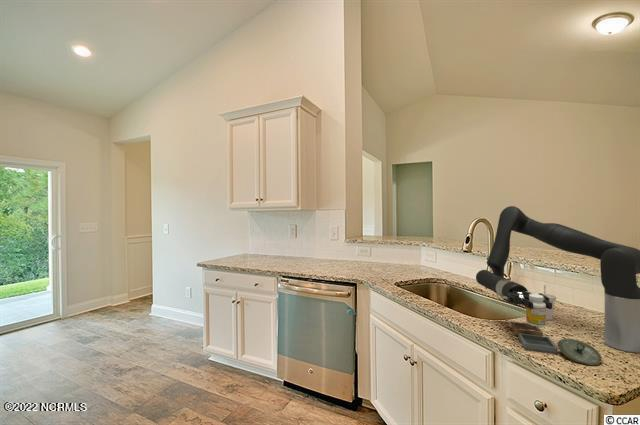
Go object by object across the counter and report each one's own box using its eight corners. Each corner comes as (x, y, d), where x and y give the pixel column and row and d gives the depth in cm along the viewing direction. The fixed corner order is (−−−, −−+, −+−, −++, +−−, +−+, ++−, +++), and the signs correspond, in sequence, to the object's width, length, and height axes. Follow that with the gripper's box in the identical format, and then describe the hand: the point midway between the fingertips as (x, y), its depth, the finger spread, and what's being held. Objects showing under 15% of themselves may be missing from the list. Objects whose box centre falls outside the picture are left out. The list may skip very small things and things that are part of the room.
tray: (548, 342, 103) (548, 337, 103) (557, 354, 95) (557, 348, 95) (518, 338, 106) (518, 333, 106) (524, 349, 98) (524, 343, 98)
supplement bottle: (527, 319, 105) (527, 292, 104) (546, 323, 101) (546, 295, 101) (525, 324, 100) (525, 296, 100) (545, 328, 97) (545, 299, 97)
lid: (585, 351, 97) (585, 336, 97) (611, 367, 87) (611, 350, 87) (550, 349, 98) (550, 334, 98) (571, 365, 88) (571, 348, 88)
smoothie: (538, 314, 130) (538, 282, 130) (557, 318, 125) (557, 285, 125) (535, 318, 125) (535, 285, 125) (554, 322, 121) (554, 288, 121)
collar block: (536, 329, 114) (536, 324, 114) (542, 338, 106) (542, 332, 106) (511, 326, 117) (511, 321, 117) (515, 334, 110) (515, 329, 110)
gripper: (492, 281, 115) (519, 294, 98) (530, 281, 114) (564, 295, 98) (492, 300, 115) (519, 317, 98) (530, 300, 115) (564, 317, 98)
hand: (541, 306), depth 98 cm, fingers closed on supplement bottle, 5 cm apart
